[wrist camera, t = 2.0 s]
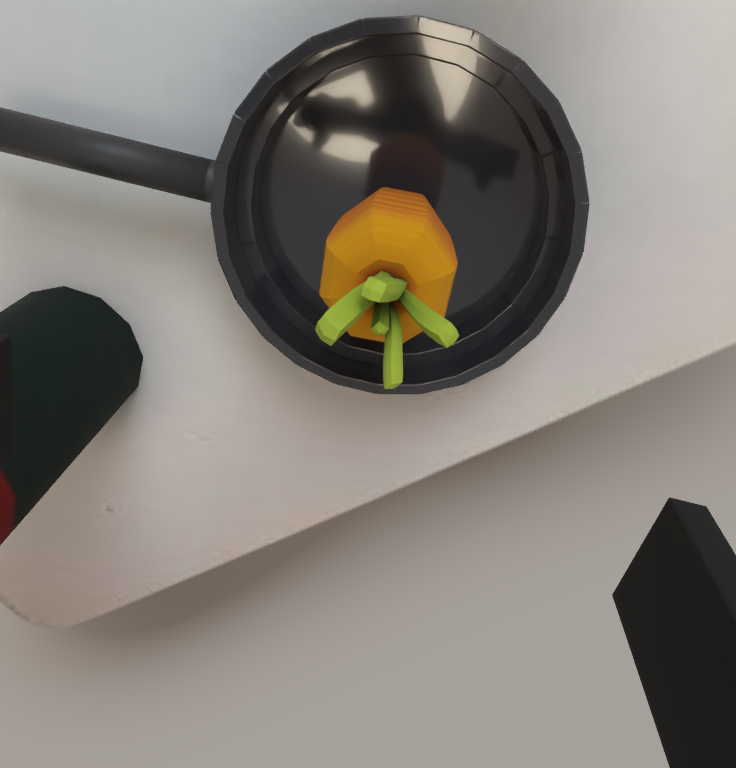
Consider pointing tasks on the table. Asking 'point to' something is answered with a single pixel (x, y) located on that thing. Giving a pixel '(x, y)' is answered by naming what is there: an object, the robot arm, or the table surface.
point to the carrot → (388, 276)
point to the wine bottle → (60, 387)
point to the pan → (404, 172)
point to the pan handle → (106, 155)
